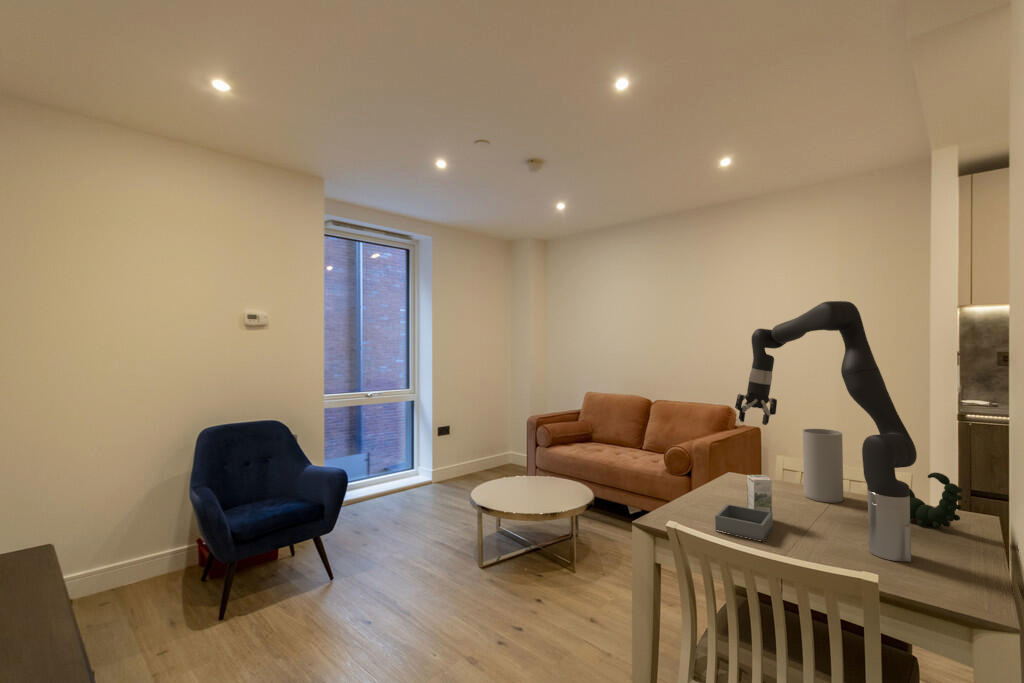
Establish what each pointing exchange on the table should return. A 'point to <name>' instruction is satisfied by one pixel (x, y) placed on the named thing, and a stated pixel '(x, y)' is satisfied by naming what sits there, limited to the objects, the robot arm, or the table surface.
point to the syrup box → (759, 492)
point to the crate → (744, 522)
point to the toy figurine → (943, 510)
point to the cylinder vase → (823, 465)
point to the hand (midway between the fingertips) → (753, 423)
